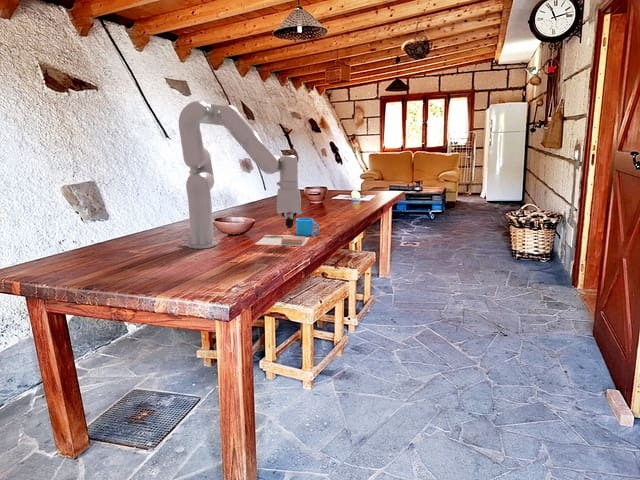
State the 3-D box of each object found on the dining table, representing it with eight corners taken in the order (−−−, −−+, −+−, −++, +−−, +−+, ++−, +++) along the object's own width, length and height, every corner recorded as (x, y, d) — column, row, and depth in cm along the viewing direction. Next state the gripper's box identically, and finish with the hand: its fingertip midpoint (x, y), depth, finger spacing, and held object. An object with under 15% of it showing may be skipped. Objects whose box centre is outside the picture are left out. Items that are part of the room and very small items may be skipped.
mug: (292, 236, 221) (292, 219, 219) (302, 233, 228) (301, 217, 226) (314, 239, 215) (314, 221, 214) (323, 236, 222) (323, 219, 221)
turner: (262, 237, 213) (262, 236, 212) (265, 235, 217) (265, 234, 217) (297, 238, 210) (297, 237, 210) (299, 236, 215) (299, 235, 215)
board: (254, 246, 200) (254, 244, 200) (265, 238, 218) (265, 235, 217) (303, 248, 197) (303, 245, 197) (310, 239, 215) (310, 237, 214)
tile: (281, 239, 200) (302, 239, 199) (284, 235, 207) (304, 236, 206) (281, 243, 201) (302, 244, 200) (284, 240, 208) (305, 240, 206)
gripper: (269, 185, 196) (270, 229, 200) (304, 186, 194) (305, 229, 198) (273, 184, 203) (274, 225, 207) (307, 184, 201) (308, 226, 205)
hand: (289, 227), depth 202 cm, fingers closed
